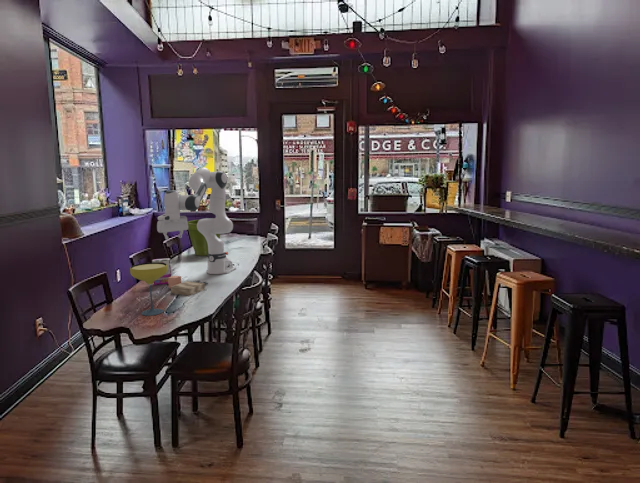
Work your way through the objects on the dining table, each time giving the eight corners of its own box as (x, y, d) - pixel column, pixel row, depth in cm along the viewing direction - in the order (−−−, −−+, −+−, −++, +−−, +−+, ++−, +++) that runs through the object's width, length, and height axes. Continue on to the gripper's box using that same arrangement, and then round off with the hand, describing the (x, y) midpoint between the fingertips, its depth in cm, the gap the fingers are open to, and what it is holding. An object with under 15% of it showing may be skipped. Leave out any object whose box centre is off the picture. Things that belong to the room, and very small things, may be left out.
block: (174, 286, 288) (174, 275, 287) (181, 286, 286) (180, 276, 285) (168, 288, 283) (167, 277, 282) (175, 289, 281) (174, 278, 280)
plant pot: (188, 252, 402) (186, 220, 397) (222, 249, 411) (220, 218, 406) (189, 258, 374) (186, 224, 369) (225, 256, 383) (223, 222, 378)
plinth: (187, 287, 284) (186, 280, 284) (204, 289, 278) (204, 282, 278) (171, 293, 272) (170, 286, 271) (189, 295, 266) (189, 288, 265)
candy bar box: (172, 282, 298) (170, 257, 295) (171, 284, 293) (170, 259, 290) (154, 283, 295) (152, 259, 292) (153, 285, 290) (151, 260, 287)
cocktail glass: (174, 306, 245) (171, 261, 241) (164, 317, 227) (160, 269, 223) (141, 307, 245) (137, 262, 241) (128, 318, 227) (124, 270, 223)
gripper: (183, 215, 290) (184, 236, 292) (155, 217, 274) (156, 239, 276) (189, 215, 286) (190, 237, 288) (160, 217, 270) (162, 240, 272)
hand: (173, 238), depth 282 cm, fingers open, 8 cm apart
